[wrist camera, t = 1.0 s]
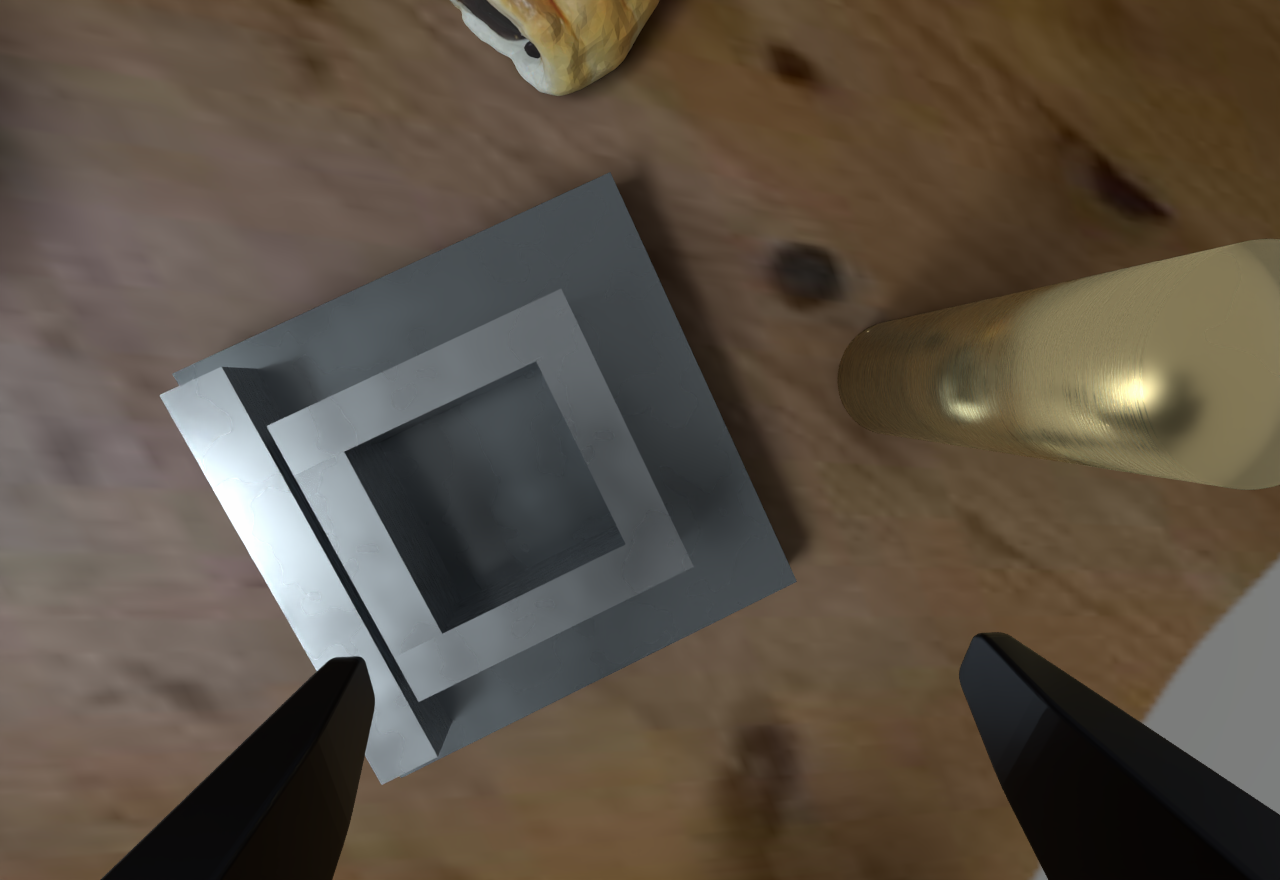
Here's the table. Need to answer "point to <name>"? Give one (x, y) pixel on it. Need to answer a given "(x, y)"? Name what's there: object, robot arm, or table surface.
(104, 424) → the table surface
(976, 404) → the sleeve
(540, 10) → the pastry
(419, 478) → the jig
